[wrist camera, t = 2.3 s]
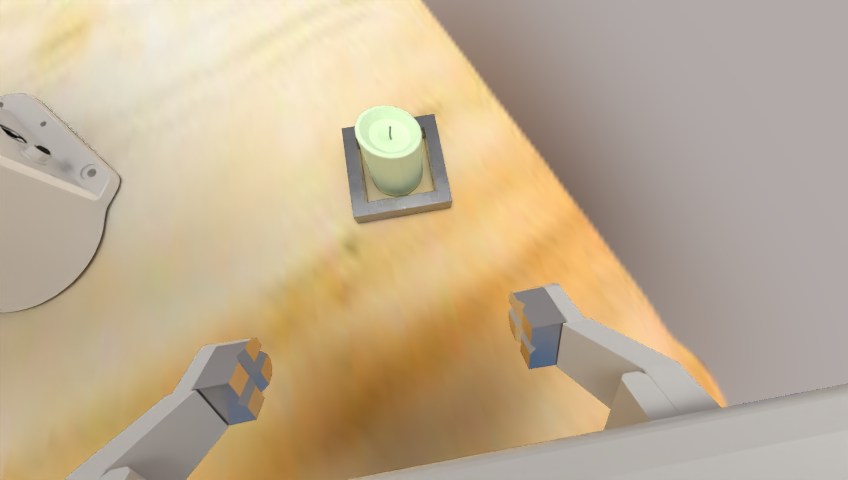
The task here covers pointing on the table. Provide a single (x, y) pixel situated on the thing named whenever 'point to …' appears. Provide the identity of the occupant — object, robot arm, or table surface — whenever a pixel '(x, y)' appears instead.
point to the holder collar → (403, 204)
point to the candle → (391, 148)
